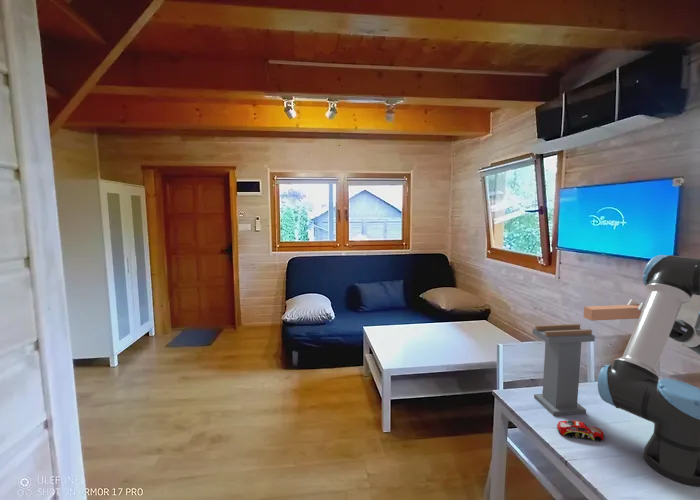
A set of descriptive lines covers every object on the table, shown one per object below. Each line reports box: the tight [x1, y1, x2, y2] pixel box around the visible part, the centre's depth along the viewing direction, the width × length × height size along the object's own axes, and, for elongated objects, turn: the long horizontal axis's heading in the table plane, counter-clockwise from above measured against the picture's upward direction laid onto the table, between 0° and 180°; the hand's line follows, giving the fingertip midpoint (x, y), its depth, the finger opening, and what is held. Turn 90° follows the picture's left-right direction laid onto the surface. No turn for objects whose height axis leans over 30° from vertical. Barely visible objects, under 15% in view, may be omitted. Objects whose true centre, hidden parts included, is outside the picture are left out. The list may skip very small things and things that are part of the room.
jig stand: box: [532, 323, 596, 417], centre depth 137 cm, size 16×12×30 cm
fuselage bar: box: [583, 303, 642, 321], centre depth 137 cm, size 26×4×4 cm, turn 95°
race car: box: [556, 420, 605, 443], centre depth 121 cm, size 13×5×4 cm, turn 72°
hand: (634, 304), depth 137 cm, fingers closed on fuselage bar, 4 cm apart
